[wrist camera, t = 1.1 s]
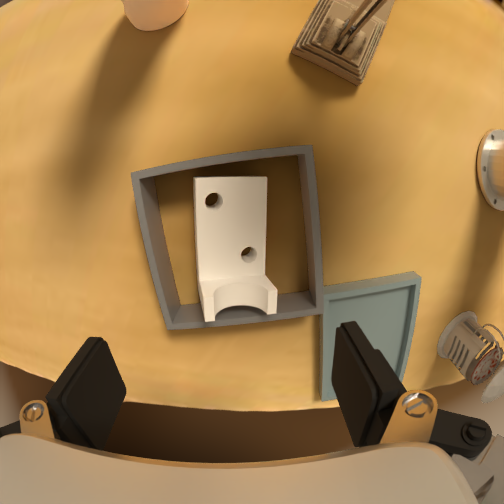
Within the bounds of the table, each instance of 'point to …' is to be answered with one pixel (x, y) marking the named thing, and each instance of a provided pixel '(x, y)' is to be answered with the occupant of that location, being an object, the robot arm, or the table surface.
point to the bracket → (232, 244)
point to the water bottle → (154, 12)
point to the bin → (239, 314)
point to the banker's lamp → (343, 36)
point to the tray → (370, 320)
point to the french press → (473, 353)
